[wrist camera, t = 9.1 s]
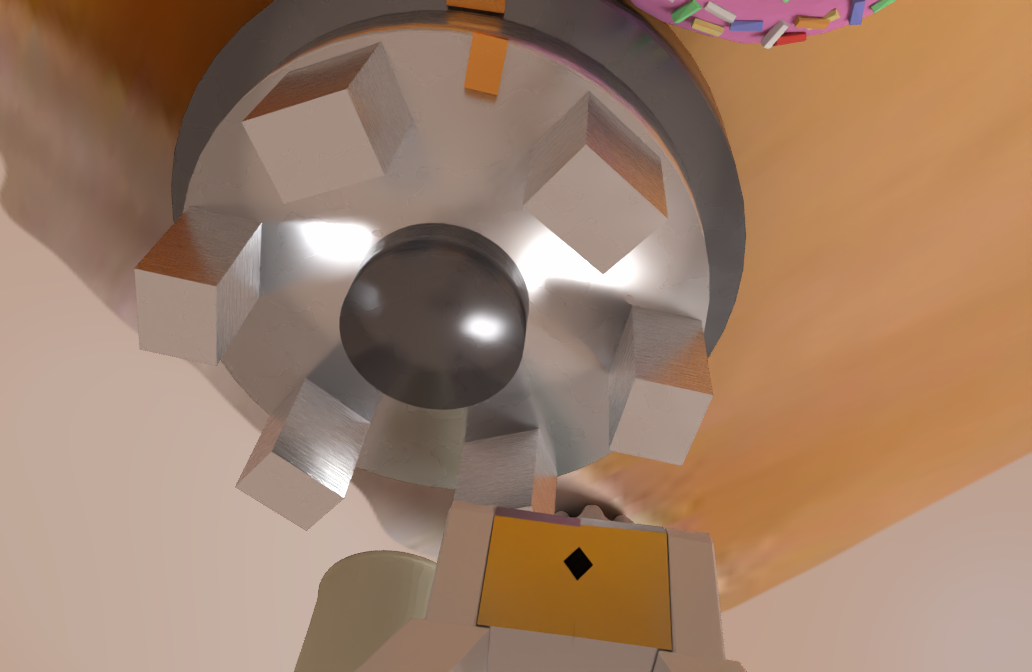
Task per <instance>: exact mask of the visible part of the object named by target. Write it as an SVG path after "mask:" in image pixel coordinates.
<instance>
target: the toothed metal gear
mask: <svg viewBox="0 0 1032 672" xmlns="http://www.w3.org/2000/svg"><path fill="white" fill-rule="evenodd" d="M134 271H135V286H136V301H137V316H138V330H139V345H140V349H141V350H145V351H150V352H155V353H159V354H164V355H169V356H174V357H178V358H182V359H187V360H192V361H196V362H201V363H206V364H210V365H215V366H217V364H218V363H219V361H220V360H221V361H222V363H223V364H224V366H225V367H226V368H227V370H228V371H229V372H230V374H231V375H232V377H233V378H234V379H235V380H236V381H237V383H238V384H239V385H240V386H241V387H242V388H243V389H244V390H245V391H246V393H247V394H248V395H249V396H250V397H251V398H252V399H253V400H254V401H255V402H256V403H257V404H258V405H259V406H260V407H261V408H263V409H264V410H265V411H266V412H267V413H268V414H269V415H270V418H269V420H268V422H267V424H266V426H265V428H264V430H263V432H262V434H261V436H260V438H259V440H258V442H257V444H256V446H255V448H254V450H253V452H252V454H251V456H250V458H249V460H248V462H247V464H246V466H245V468H244V470H243V472H242V474H241V476H240V478H239V480H238V482H237V484H236V486H235V487H236V488H238V489H239V490H241V491H243V492H244V493H246V494H247V495H249V496H251V497H252V498H254V499H255V500H257V501H259V502H260V503H262V504H264V505H265V506H267V507H269V508H270V509H272V510H273V511H275V512H277V513H278V514H280V515H282V516H283V517H285V518H286V519H288V520H290V521H291V522H293V523H295V524H296V525H298V526H300V527H301V528H303V529H304V530H306V531H307V530H308V529H309V528H310V527H311V526H312V525H314V524H315V523H316V522H317V521H318V520H319V519H321V518H322V517H323V516H324V515H325V514H326V513H328V512H329V511H330V510H331V509H332V508H333V507H335V506H336V505H337V504H338V503H339V502H340V501H341V500H342V499H344V497H345V494H346V491H347V489H348V486H349V483H350V480H351V477H352V474H353V471H354V468H355V467H358V468H361V469H363V470H366V471H369V472H372V473H375V474H377V475H380V476H384V477H388V478H392V479H396V480H400V481H403V482H407V483H413V484H419V485H425V486H431V487H438V488H452V489H455V493H454V498H453V500H455V501H462V502H469V503H476V504H483V505H490V506H496V507H497V506H500V507H506V508H513V509H519V510H526V511H533V512H539V513H546V514H552V515H554V513H555V498H556V484H557V477H558V476H561V475H564V474H566V473H569V472H572V471H575V470H578V469H580V468H582V467H584V466H586V465H588V464H591V463H593V462H595V461H597V460H599V459H601V458H603V457H605V456H606V455H608V454H610V453H611V452H613V451H616V452H620V453H625V454H630V455H634V456H639V457H644V458H648V459H653V460H658V461H662V462H667V463H671V464H676V465H681V466H682V464H683V462H684V460H685V458H686V455H687V453H688V451H689V449H690V446H691V444H692V442H693V440H694V437H695V435H696V433H697V431H698V428H699V426H700V424H701V422H702V419H703V417H704V415H705V413H706V410H707V408H708V406H709V404H710V401H711V399H712V397H713V391H712V385H711V378H710V372H709V366H708V359H707V353H706V347H705V340H704V334H703V333H704V330H705V324H706V318H707V312H708V306H709V264H708V257H707V251H706V244H705V238H704V233H703V227H702V222H701V217H700V212H699V206H698V202H697V199H696V195H695V192H694V189H693V186H692V183H691V180H690V176H689V173H688V171H687V169H686V167H685V165H684V163H683V161H682V159H681V157H680V155H679V152H678V150H677V148H676V146H675V144H674V142H673V141H672V140H671V138H670V137H669V135H668V134H667V132H666V131H665V129H664V128H663V126H662V125H661V123H660V122H659V120H658V119H657V117H656V116H655V115H654V113H653V112H652V111H651V110H650V109H649V108H648V107H647V106H646V105H645V103H644V102H643V101H642V100H641V99H640V98H639V97H638V96H637V95H636V93H635V92H634V91H633V90H632V89H631V88H630V87H629V86H627V85H626V84H625V83H624V82H623V81H621V80H620V79H619V78H618V77H617V76H616V75H614V74H613V73H612V72H611V71H610V70H608V69H607V68H606V67H605V66H604V65H602V64H601V63H599V62H598V61H596V60H594V59H593V58H591V57H590V56H588V55H586V54H585V53H583V52H582V51H580V50H579V49H577V48H575V47H574V46H572V45H571V44H568V43H566V42H564V41H562V40H560V39H558V38H555V37H553V36H551V35H549V34H547V33H544V32H542V31H540V30H538V29H536V28H532V27H529V26H526V25H523V24H519V23H516V22H513V21H510V20H506V19H503V18H500V17H494V16H488V15H482V14H476V13H470V12H464V11H445V10H417V11H408V12H399V13H390V14H384V15H380V16H376V17H372V18H368V19H364V20H360V21H356V22H352V23H350V24H347V25H345V26H342V27H340V28H338V29H335V30H333V31H330V32H328V33H326V34H323V35H321V36H319V37H317V38H315V39H314V40H312V41H310V42H309V43H307V44H306V45H304V46H302V47H301V48H299V49H297V50H296V51H294V52H292V53H291V54H289V55H288V56H287V57H286V58H285V59H283V60H282V61H281V62H280V63H279V64H278V65H276V66H275V67H274V68H273V69H272V70H271V71H269V72H268V73H267V74H266V75H265V76H264V77H263V78H262V79H261V80H260V81H259V82H258V83H257V84H256V85H255V86H254V87H253V88H252V89H251V90H250V91H249V92H248V93H247V94H246V95H245V96H244V97H243V98H242V99H241V100H240V101H239V102H238V103H237V104H236V105H235V106H234V108H233V109H232V110H231V111H230V112H229V113H228V115H227V116H226V117H225V118H224V119H223V120H222V122H221V123H220V124H219V125H218V126H217V128H216V129H215V131H214V133H213V134H212V136H211V138H210V139H209V141H208V143H207V144H206V146H205V148H204V149H203V151H202V153H201V154H200V157H199V159H198V162H197V164H196V167H195V170H194V172H193V175H192V177H191V180H190V182H189V186H188V191H187V195H186V200H185V205H184V210H183V214H182V215H181V216H180V217H179V219H178V220H177V221H176V222H175V223H174V224H173V225H172V226H171V228H170V229H169V230H168V231H167V232H166V233H165V234H164V236H163V237H162V238H161V239H160V240H159V241H158V242H157V243H156V245H155V246H154V247H153V248H152V249H151V250H150V251H149V253H148V254H147V255H146V256H145V257H144V258H143V259H142V260H141V262H140V263H139V264H138V265H137V266H136V267H135V268H134Z"/></svg>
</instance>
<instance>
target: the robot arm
mask: <svg viewBox="0 0 1032 672" xmlns="http://www.w3.org/2000/svg"><path fill="white" fill-rule="evenodd" d="M354 672H747V671H746V670H745V669H744V667H743V666H742V665H741V663H740V662H738V661H732V660H727V659H725V650H724V640H723V632H722V622H721V611H720V602H719V592H718V583H717V573H716V564H715V554H714V545H713V540H712V538H711V536H710V534H709V533H704V532H696V531H687V530H679V529H671V528H665V529H664V528H663V527H659V526H650V525H641V524H633V523H624V522H615V521H606V520H598V519H589V518H572V517H565V516H559V515H552V514H546V513H539V512H533V511H526V510H519V509H513V508H506V507H500V506H497V507H496V506H490V505H483V504H476V503H469V502H462V501H455V500H453V503H452V505H451V507H450V509H449V511H448V516H447V520H446V525H445V529H444V534H443V538H442V542H441V547H440V551H439V556H438V560H437V565H436V569H435V574H434V578H433V582H432V587H431V591H430V596H429V600H428V605H427V609H426V613H425V618H424V619H417V618H411V619H410V620H408V621H407V622H406V623H405V624H404V625H403V626H402V627H401V628H400V629H399V630H398V631H397V632H396V633H395V634H394V635H392V636H391V637H390V638H389V639H388V640H387V641H386V642H385V643H384V644H383V645H382V646H381V647H380V648H379V649H378V650H376V651H375V652H374V653H373V654H372V655H371V656H370V657H369V658H368V659H367V660H366V661H365V662H364V663H363V664H362V665H360V666H359V667H358V668H357V669H356V670H355V671H354Z"/></svg>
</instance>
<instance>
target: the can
mask: <svg viewBox="0 0 1032 672" xmlns="http://www.w3.org/2000/svg"><path fill="white" fill-rule="evenodd" d="M436 565H437V563H435V562H433V561H431V560H429V559H426V558H423V557H420V556H417V555H413V554H409V553H405V552H398V551H384V550H383V551H369V552H363V553H358V554H354V555H351V556H348V557H346V558H344V559H342V560H340V561H339V562H337V563H335V564H334V565H333V566H332V567H331V568H330V569H329V570H328V571H327V572H326V573H325V575H324V576H323V578H322V580H321V582H320V585H319V590H318V598H317V602H316V605H315V609H314V612H313V615H312V619H311V622H310V625H309V628H308V631H307V635H306V637H305V640H304V643H303V646H302V649H301V652H300V655H299V658H298V661H297V664H296V667H295V670H294V672H354V671H355V670H356V669H357V668H358V667H359V666H360V665H362V664H363V663H364V662H365V661H366V660H367V659H368V658H369V657H370V656H371V655H372V654H373V653H374V652H375V651H376V650H378V649H379V648H380V647H381V646H382V645H383V644H384V643H385V642H386V641H387V640H388V639H389V638H390V637H391V636H392V635H394V634H395V633H396V632H397V631H398V630H399V629H400V628H401V627H402V626H403V625H404V624H405V623H406V622H407V621H408V620H410V619H411V618H417V619H424V618H425V613H426V609H427V605H428V600H429V596H430V591H431V587H432V582H433V578H434V574H435V569H436Z"/></svg>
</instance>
